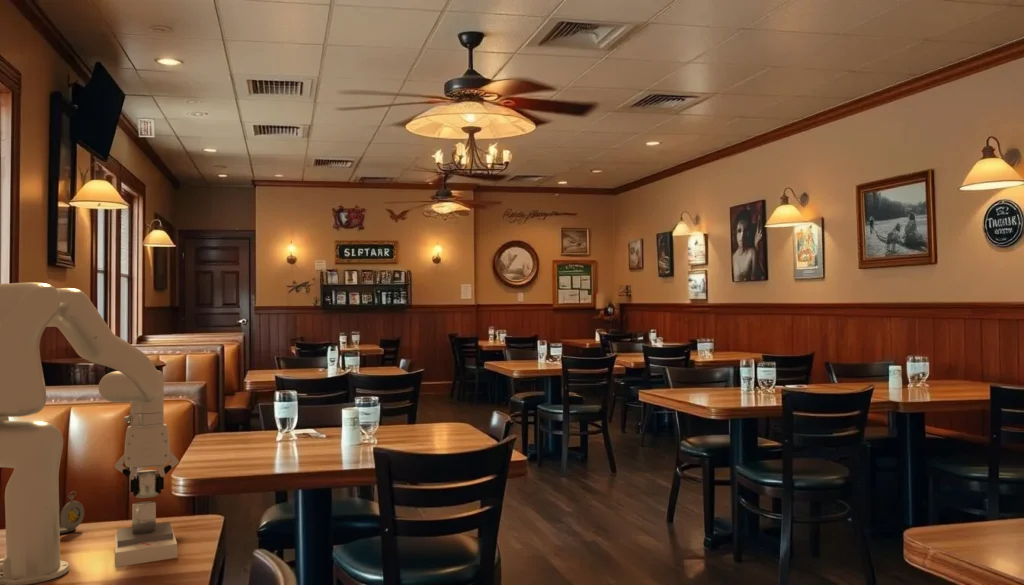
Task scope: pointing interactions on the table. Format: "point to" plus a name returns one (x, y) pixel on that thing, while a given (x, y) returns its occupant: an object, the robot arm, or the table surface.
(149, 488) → the cylinder
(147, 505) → the cylinder
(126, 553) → the scale
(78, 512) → the pocket watch
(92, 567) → the table surface
